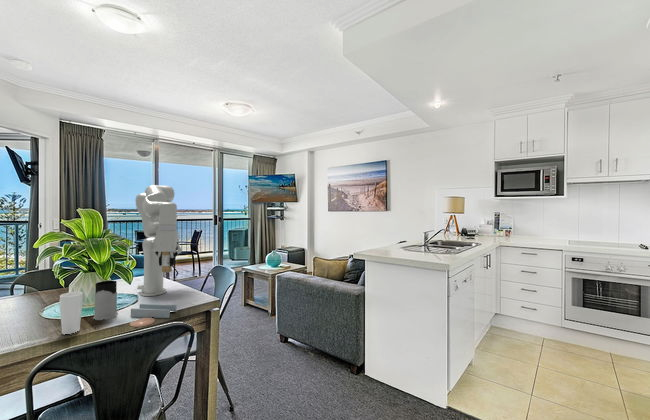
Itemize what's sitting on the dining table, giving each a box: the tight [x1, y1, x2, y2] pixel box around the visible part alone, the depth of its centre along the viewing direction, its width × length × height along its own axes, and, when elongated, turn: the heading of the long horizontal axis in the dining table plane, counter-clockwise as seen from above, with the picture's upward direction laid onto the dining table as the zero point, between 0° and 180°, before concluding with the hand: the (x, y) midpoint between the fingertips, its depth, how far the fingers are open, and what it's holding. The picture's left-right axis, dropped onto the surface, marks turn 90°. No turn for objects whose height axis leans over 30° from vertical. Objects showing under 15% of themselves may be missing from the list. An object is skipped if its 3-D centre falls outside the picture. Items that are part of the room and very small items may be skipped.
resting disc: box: [129, 317, 156, 328], centre depth 123 cm, size 9×9×1 cm
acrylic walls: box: [130, 303, 178, 319], centre depth 132 cm, size 17×7×4 cm, turn 89°
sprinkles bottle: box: [162, 252, 173, 274], centre depth 141 cm, size 5×5×13 cm
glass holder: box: [92, 280, 119, 321], centre depth 131 cm, size 9×14×15 cm, turn 20°
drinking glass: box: [59, 291, 84, 336], centre depth 112 cm, size 7×7×15 cm
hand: (166, 264), depth 141 cm, fingers closed on sprinkles bottle, 4 cm apart
